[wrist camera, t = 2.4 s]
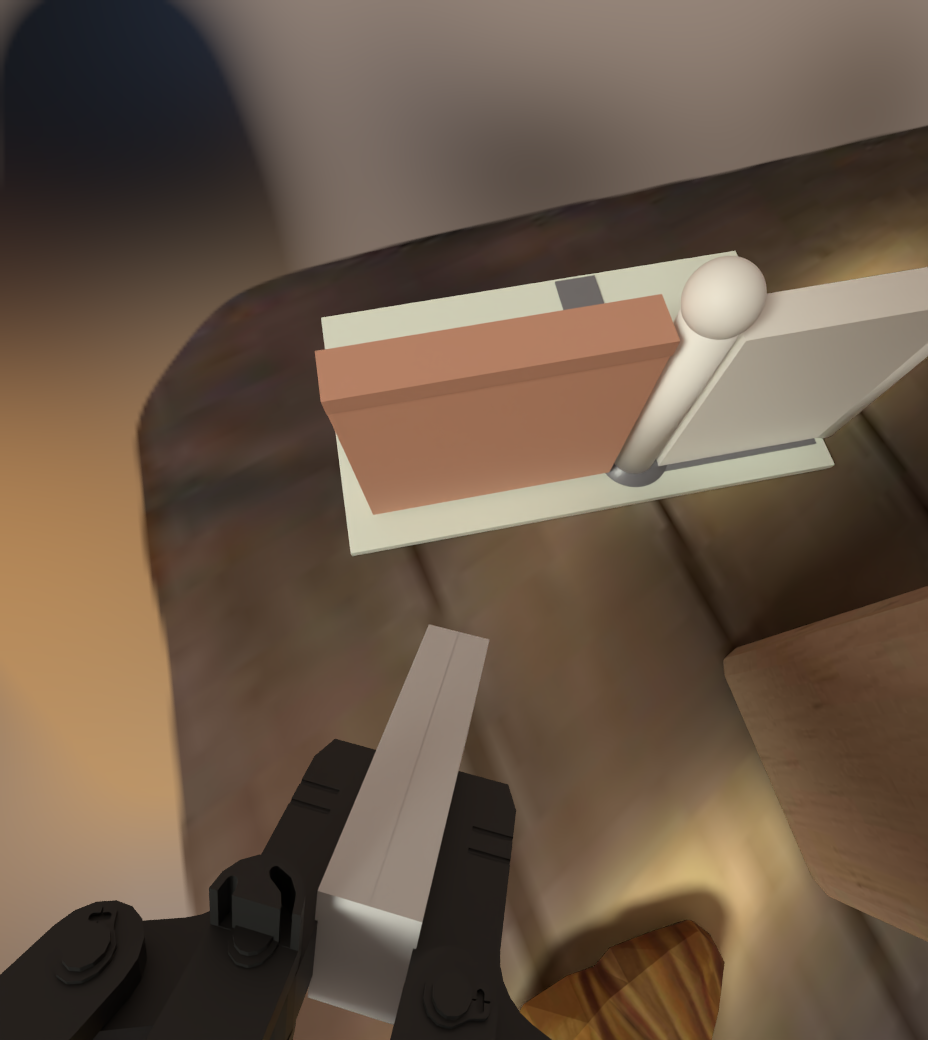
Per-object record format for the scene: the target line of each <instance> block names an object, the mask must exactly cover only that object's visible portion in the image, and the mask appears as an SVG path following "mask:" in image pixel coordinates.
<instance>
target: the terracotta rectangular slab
mask: <svg viewBox="0 0 928 1040" xmlns="http://www.w3.org/2000/svg"><path fill="white" fill-rule="evenodd" d="M679 343H680V339H679V336H678V334H677V331H676V329H675V326H674V323H673V321H672V318H671V316H670V313H669V311H668V308H667V306H666V303H665V300H664V298H663V295H662V294H658V295H652V296H646V297H640V298H634V299H628V300H622V301H616V302H610V303H604V304H598V305H592V306H586V307H579V308H573V309H567V310H561V311H555V312H549V313H543V314H537V315H531V316H525V317H519V318H513V319H507V320H501V321H495V322H489V323H482V324H476V325H470V326H464V327H458V328H452V329H446V330H440V331H434V332H428V333H422V334H416V335H410V336H404V337H398V338H391V339H385V340H379V341H373V342H367V343H361V344H355V345H349V346H343V347H337V348H331V349H325V350H319V351H315V356H316V364H317V373H318V381H319V390H320V398H321V403H322V405H323V408H324V410H325V412H326V414H327V415H328V417H329V419H330V421H331V423H332V425H333V428H334V430H335V432H336V434H337V436H338V439H339V441H340V443H341V445H342V447H343V450H344V452H345V454H346V456H347V458H348V461H349V463H350V465H351V467H352V469H353V472H354V474H355V476H356V478H357V480H358V483H359V485H360V487H361V489H362V491H363V494H364V496H365V498H366V500H367V502H368V505H369V507H370V509H371V511H372V513H373V515H376V514H381V513H387V512H392V511H398V510H404V509H409V508H415V507H420V506H426V505H431V504H437V503H442V502H448V501H453V500H459V499H464V498H470V497H475V496H481V495H486V494H492V493H497V492H503V491H508V490H514V489H520V488H525V487H531V486H536V485H542V484H547V483H553V482H558V481H564V480H569V479H575V478H580V477H586V476H591V475H597V474H602V473H608V472H610V470H611V468H612V466H613V464H614V462H615V460H616V458H617V457H618V455H619V453H620V451H621V449H622V447H623V445H624V443H625V441H626V439H627V437H628V436H629V434H630V432H631V430H632V428H633V426H634V424H635V422H636V420H637V418H638V417H639V415H640V413H641V411H642V409H643V407H644V405H645V403H646V401H647V399H648V397H649V396H650V394H651V392H652V390H653V388H654V386H655V384H656V382H657V380H658V378H659V377H660V375H661V373H662V371H663V369H664V367H665V365H666V363H667V361H668V359H669V357H670V356H673V354H674V352H675V350H676V348H677V346H678V345H679Z"/></svg>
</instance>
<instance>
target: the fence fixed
mask: <svg viewBox="0 0 928 1040" xmlns="http://www.w3.org/2000/svg"><path fill="white" fill-rule="evenodd" d="M673 323H674V326H675V329H676V331H677V334H678V336H679V339H680V343H679V345H678V346H677V348H676V350H675V352H674V354H673V356H670V357H669V359H668V361H667V363H666V365H665V367H664V369H663V371H662V373H661V375H660V377H659V378H658V380H657V382H656V384H655V386H654V388H653V390H652V392H651V394H650V396H649V397H648V399H647V401H646V403H645V405H644V407H643V409H642V411H641V413H640V415H639V417H638V418H637V420H636V422H635V424H634V426H633V428H632V430H631V432H630V434H629V436H628V437H627V439H626V441H625V443H624V445H623V447H622V449H621V451H620V453H619V455H618V457H617V458H616V460H615V462H614V463H615V465H616V466H617V467H618V468H619V469H621V470H622V471H624V472H627V473H631V474H639V473H643V472H645V471H647V470H648V469H649V468H650V467H651V466H652V464H653V463H654V461H655V460H657V463H658V466H663V465H669V464H674V463H680V462H685V461H691V460H696V459H702V458H707V457H713V456H718V455H724V454H729V453H735V452H740V451H746V450H751V449H757V448H762V447H768V446H774V445H779V444H785V443H790V442H796V441H801V440H807V439H812V438H827V437H830V436H832V435H833V434H834V433H836V432H837V431H838V430H839V429H840V428H842V427H843V426H844V425H845V424H846V423H848V422H849V421H850V420H851V419H853V418H854V417H855V416H856V415H857V414H859V413H860V412H861V411H862V410H863V409H865V408H866V407H867V406H868V405H869V404H871V403H872V402H873V401H874V400H876V399H877V398H878V397H879V396H880V395H882V394H883V393H884V392H885V391H886V390H888V389H889V388H890V387H891V386H892V385H894V384H895V383H896V382H897V381H898V380H900V379H901V378H902V377H903V376H905V375H906V374H907V373H908V372H909V371H911V370H912V369H913V368H914V367H915V366H917V365H918V364H919V363H920V362H921V361H923V360H924V359H925V358H926V357H928V267H925V268H919V269H913V270H907V271H901V272H894V273H888V274H882V275H876V276H870V277H864V278H858V279H852V280H846V281H840V282H834V283H828V284H822V285H816V286H810V287H804V288H798V289H792V290H786V291H780V292H774V293H768V294H767V288H766V282H765V279H764V276H763V274H762V273H761V271H760V270H759V268H758V267H757V266H756V265H755V264H753V263H752V262H750V261H749V260H747V259H744V258H742V257H737V256H723V257H718V258H715V259H712V260H710V261H708V262H706V263H704V264H703V265H701V266H700V267H699V268H698V269H697V270H696V271H694V273H693V274H692V275H691V276H690V277H689V279H688V281H687V282H686V284H685V286H684V289H683V292H682V296H681V308H680V310H679V312H678V314H677V316H676V318H675V320H674V322H673Z"/></svg>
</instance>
